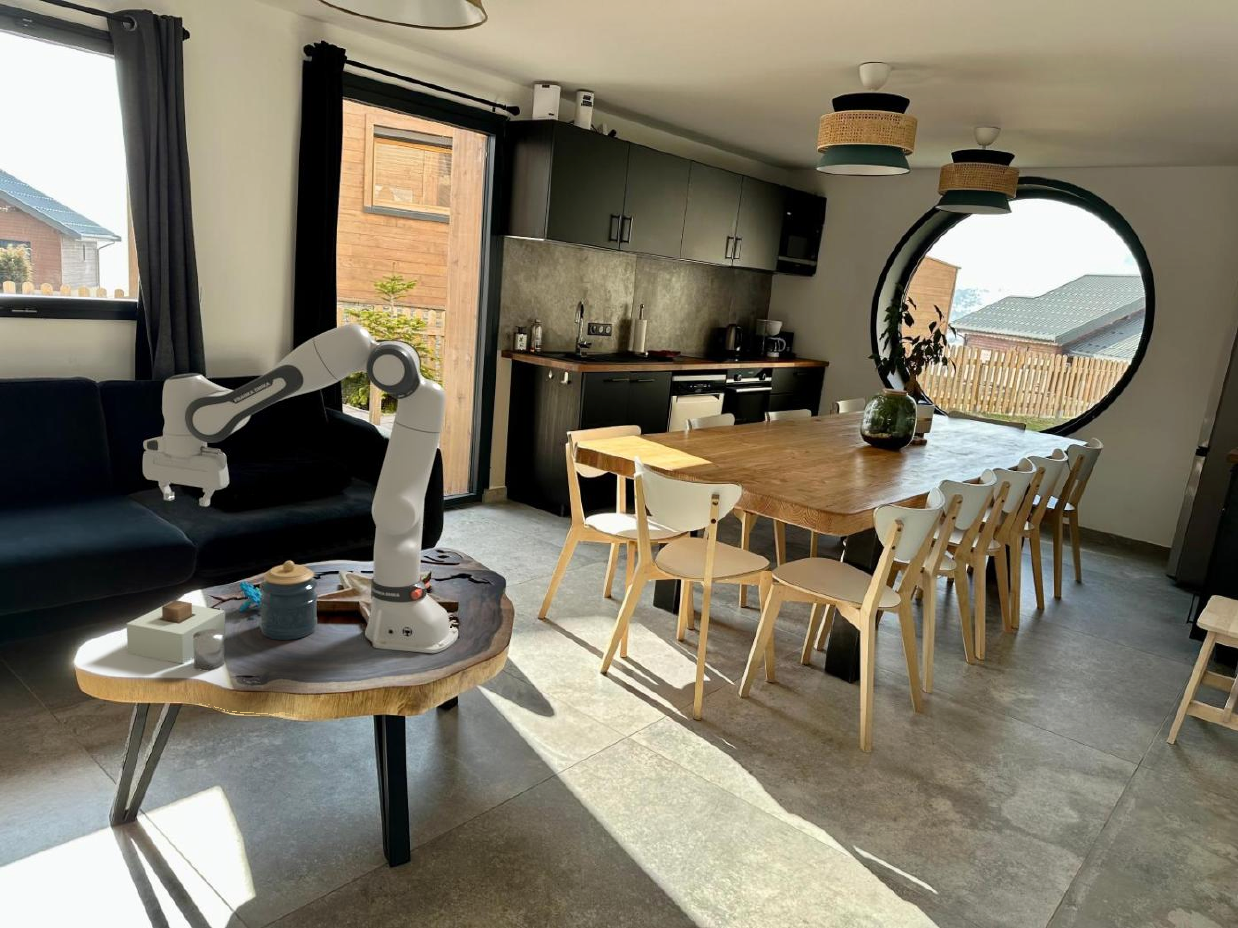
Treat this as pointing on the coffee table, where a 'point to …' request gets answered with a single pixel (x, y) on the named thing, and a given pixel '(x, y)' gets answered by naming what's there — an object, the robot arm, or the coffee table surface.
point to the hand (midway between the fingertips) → (186, 502)
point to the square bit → (177, 611)
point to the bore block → (171, 634)
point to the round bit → (208, 649)
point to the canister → (288, 602)
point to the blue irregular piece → (250, 595)
